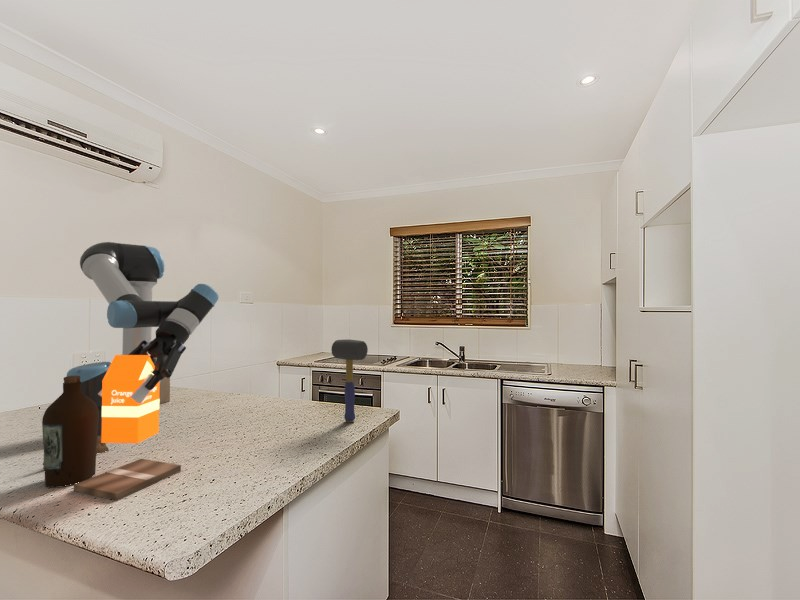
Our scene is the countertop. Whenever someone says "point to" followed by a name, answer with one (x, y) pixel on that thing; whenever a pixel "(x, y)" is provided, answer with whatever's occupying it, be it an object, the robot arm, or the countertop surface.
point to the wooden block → (164, 390)
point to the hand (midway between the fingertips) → (118, 398)
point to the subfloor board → (127, 479)
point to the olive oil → (70, 436)
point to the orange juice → (128, 401)
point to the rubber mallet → (349, 369)
